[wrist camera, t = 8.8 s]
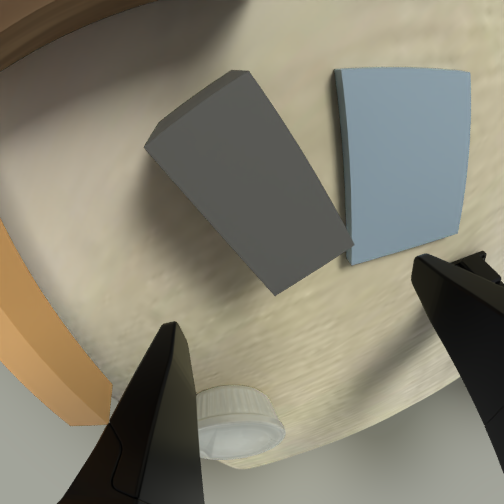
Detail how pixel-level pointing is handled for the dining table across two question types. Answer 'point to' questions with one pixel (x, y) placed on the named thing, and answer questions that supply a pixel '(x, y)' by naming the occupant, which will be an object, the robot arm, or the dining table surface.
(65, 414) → the tan wooden bar
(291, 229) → the charcoal wedge block
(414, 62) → the dining table surface
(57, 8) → the rail
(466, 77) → the pad
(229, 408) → the ramekin
